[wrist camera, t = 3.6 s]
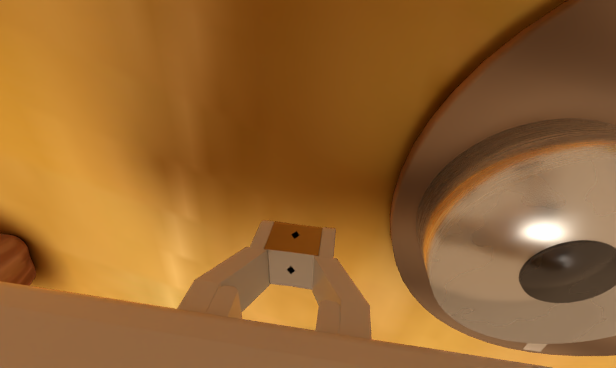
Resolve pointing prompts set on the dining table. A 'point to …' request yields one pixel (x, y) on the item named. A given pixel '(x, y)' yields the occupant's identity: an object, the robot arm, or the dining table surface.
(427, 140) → the platter
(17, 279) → the cupcake
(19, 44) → the dining table surface
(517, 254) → the cover
